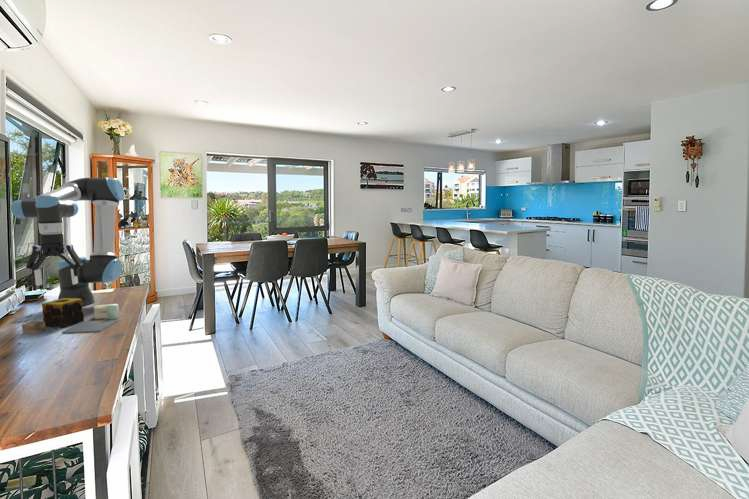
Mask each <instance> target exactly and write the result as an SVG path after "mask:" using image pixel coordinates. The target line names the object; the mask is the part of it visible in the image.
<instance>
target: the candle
mask: <svg viewBox="0 0 749 499" xmlns="http://www.w3.org/2000/svg"><path fill="white" fill-rule="evenodd" d="M41 308H42V315H43V316H42V317H43V318H42V321H45V327H46V328H61V329H63V328H67V327H70V326H72V325H73V326H74V325H76V324H78V323H80V322H82V321H85V319H84V317H85V315H84V308H83V306H82V299H77V298H62V299H58V298H57V299H54V300H51V301H47V302H43V303H41Z"/></svg>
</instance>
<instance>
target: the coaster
mask: <svg viewBox="0 0 749 499" xmlns="http://www.w3.org/2000/svg"><path fill="white" fill-rule="evenodd" d="M118 321H119V320H118V319H114V320H108V319H107V320H106V319H105V320H104V319H103V320H87V321H86V320H84V321H82V322H79V323H76V324H74V325H73V326H71V327H69V328H67V329H66V330H63V331H61V334H81V333H83V334H84V333H99V332H103V331H104V330H106V329H107V328H109V327H111V326H112V325H114V324H115V323H117V322H118Z"/></svg>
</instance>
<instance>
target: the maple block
mask: <svg viewBox="0 0 749 499" xmlns="http://www.w3.org/2000/svg"><path fill="white" fill-rule="evenodd" d="M107 305H109V303H108V304H107V303H106V304H100V305H99V304H98V305H94V307H93V313H94V320H100V319H108V318H107V308H106V306H107Z"/></svg>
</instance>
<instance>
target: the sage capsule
mask: <svg viewBox="0 0 749 499" xmlns="http://www.w3.org/2000/svg"><path fill="white" fill-rule="evenodd" d="M108 304H109V303H108ZM106 305H107V304H106ZM106 308H107V318H106V319H107V320H118V319H120V309H119V304H118V303H110V304H109V305H107V306H106Z"/></svg>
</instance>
